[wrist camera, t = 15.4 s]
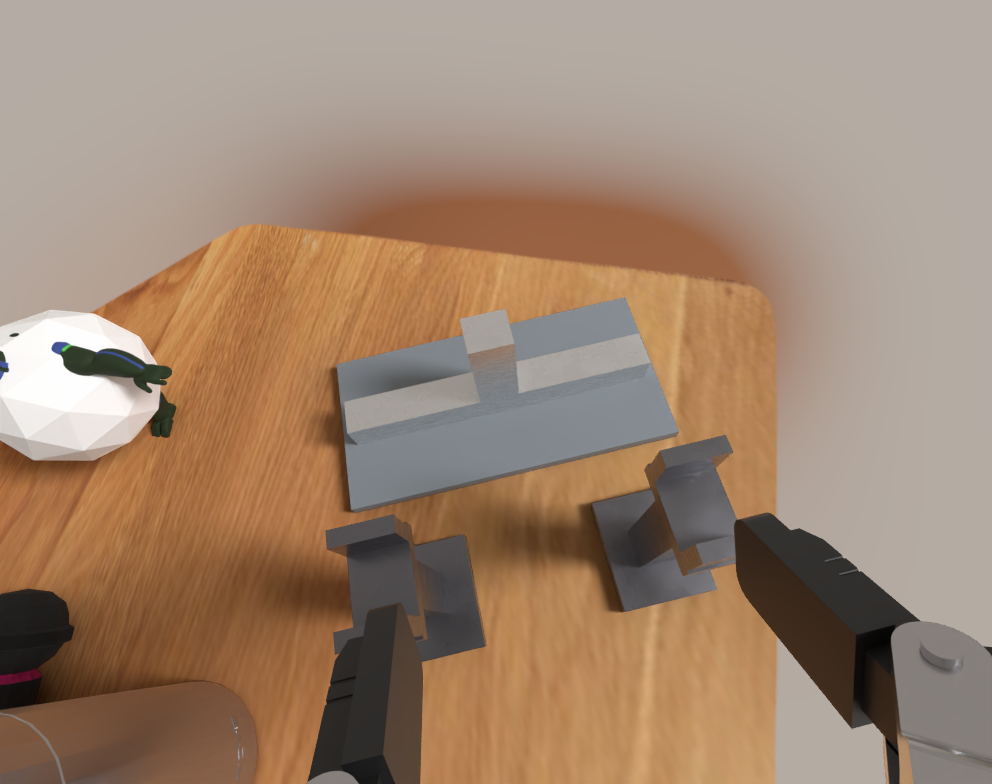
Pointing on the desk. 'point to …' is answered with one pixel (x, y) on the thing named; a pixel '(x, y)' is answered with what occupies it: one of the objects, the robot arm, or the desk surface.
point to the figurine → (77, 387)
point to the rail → (495, 381)
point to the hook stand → (623, 532)
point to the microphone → (28, 642)
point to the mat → (499, 414)
